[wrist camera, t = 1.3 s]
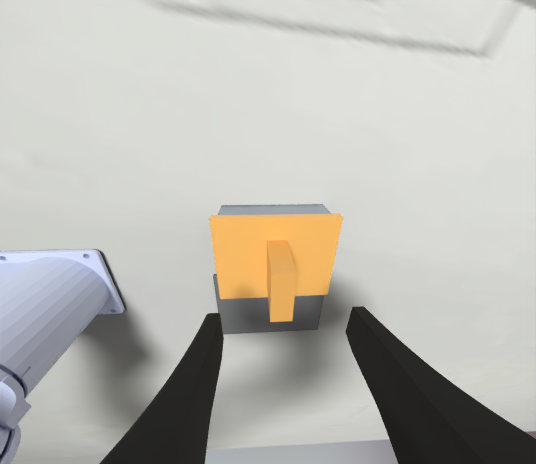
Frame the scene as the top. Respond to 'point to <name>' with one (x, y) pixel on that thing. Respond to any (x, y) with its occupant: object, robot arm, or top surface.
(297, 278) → the lid
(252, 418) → the top surface
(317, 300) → the mat
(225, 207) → the tub
